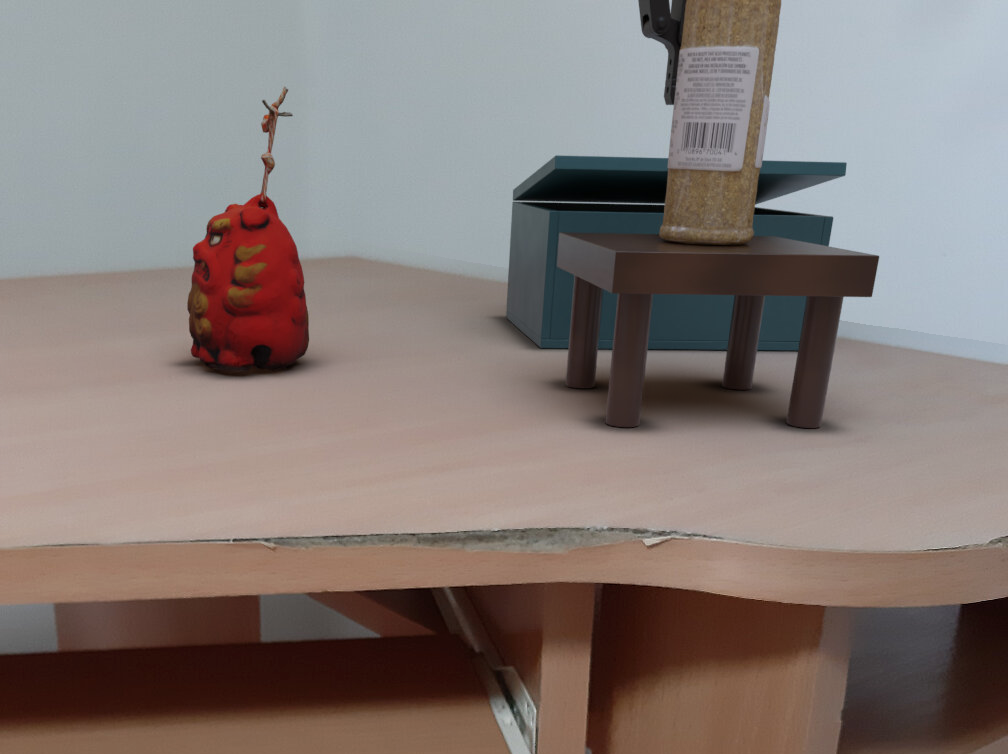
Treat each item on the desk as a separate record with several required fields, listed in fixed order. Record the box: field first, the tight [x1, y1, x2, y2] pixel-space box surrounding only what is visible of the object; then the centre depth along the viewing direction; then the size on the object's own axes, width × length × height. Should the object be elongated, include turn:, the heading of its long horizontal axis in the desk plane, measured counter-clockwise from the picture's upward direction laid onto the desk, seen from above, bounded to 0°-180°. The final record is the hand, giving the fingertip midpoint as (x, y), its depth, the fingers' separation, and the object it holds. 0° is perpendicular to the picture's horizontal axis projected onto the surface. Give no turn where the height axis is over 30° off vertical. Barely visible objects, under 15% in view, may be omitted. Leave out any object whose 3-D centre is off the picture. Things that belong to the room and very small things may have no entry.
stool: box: [557, 232, 880, 429], centre depth 54 cm, size 12×12×8 cm
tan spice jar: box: [659, 0, 782, 245], centre depth 50 cm, size 5×5×13 cm
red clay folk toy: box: [186, 86, 310, 373], centre depth 60 cm, size 8×7×15 cm
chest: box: [505, 201, 834, 352], centre depth 76 cm, size 14×19×9 cm
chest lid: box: [512, 154, 848, 206], centre depth 74 cm, size 15×19×1 cm
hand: (687, 161), depth 70 cm, fingers closed
